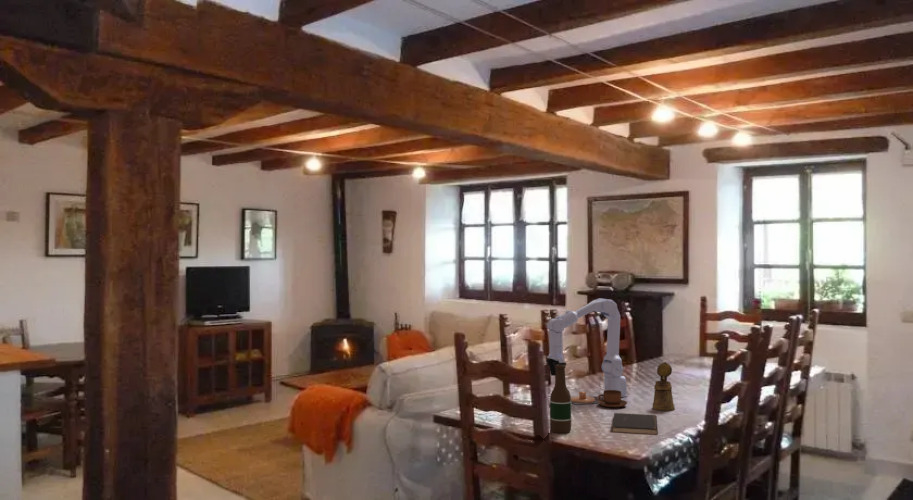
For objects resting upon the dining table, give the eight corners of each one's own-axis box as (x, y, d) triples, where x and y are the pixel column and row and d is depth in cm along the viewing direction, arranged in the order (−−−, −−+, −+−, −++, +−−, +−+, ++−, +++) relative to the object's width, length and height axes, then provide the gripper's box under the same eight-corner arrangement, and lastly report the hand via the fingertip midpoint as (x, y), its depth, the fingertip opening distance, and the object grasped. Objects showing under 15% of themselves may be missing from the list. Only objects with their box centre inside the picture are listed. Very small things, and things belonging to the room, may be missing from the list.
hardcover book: (611, 433, 257) (611, 426, 257) (614, 418, 279) (614, 412, 279) (657, 435, 253) (657, 429, 253) (656, 421, 275) (656, 415, 275)
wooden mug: (676, 405, 301) (676, 362, 301) (673, 411, 289) (673, 367, 289) (654, 403, 304) (654, 361, 304) (651, 410, 292) (650, 366, 292)
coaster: (589, 397, 317) (589, 396, 317) (601, 403, 305) (601, 402, 305) (564, 399, 314) (564, 398, 314) (575, 405, 302) (575, 404, 302)
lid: (588, 397, 316) (588, 389, 316) (599, 402, 306) (599, 393, 306) (565, 398, 313) (565, 390, 313) (576, 403, 303) (576, 395, 303)
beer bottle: (547, 428, 262) (547, 363, 262) (568, 428, 262) (568, 363, 263) (552, 434, 254) (552, 366, 254) (573, 433, 255) (573, 366, 255)
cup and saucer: (610, 410, 292) (610, 395, 292) (592, 405, 303) (592, 390, 303) (633, 407, 298) (633, 392, 298) (614, 402, 308) (614, 388, 308)
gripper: (542, 344, 320) (542, 374, 320) (552, 348, 306) (553, 380, 306) (557, 343, 321) (557, 373, 321) (568, 347, 307) (568, 379, 307)
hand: (556, 376), depth 314 cm, fingers open, 7 cm apart
